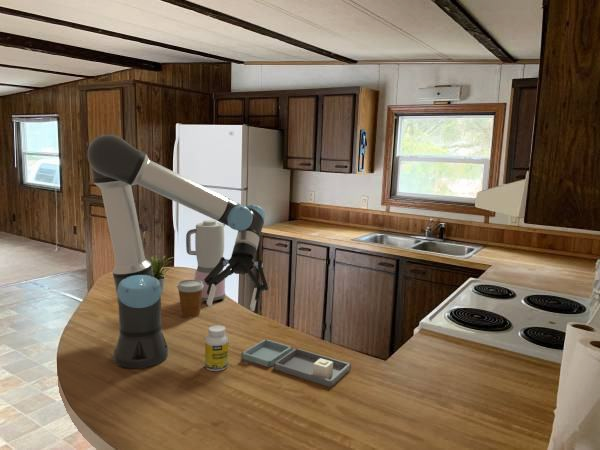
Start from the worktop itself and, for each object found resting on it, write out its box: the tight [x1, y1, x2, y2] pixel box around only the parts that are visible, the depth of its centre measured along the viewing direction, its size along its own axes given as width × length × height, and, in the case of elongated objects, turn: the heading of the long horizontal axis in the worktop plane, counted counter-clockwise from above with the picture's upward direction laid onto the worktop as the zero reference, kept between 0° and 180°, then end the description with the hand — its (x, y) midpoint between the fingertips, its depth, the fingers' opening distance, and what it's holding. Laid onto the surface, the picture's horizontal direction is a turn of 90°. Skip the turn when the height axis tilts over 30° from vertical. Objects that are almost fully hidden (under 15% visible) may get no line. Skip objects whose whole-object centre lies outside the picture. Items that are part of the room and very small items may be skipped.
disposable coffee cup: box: [176, 279, 204, 318], centre depth 175 cm, size 10×10×12 cm
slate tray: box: [240, 338, 293, 368], centre depth 143 cm, size 12×10×2 cm
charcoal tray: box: [273, 347, 352, 388], centre depth 135 cm, size 12×18×2 cm
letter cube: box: [313, 358, 333, 379], centre depth 131 cm, size 4×4×4 cm
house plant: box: [151, 253, 175, 294], centre depth 198 cm, size 14×14×16 cm
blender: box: [185, 219, 226, 304], centre depth 190 cm, size 16×12×32 cm
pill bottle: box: [204, 324, 229, 372], centre depth 135 cm, size 6×6×12 cm
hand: (230, 307), depth 143 cm, fingers open, 13 cm apart
